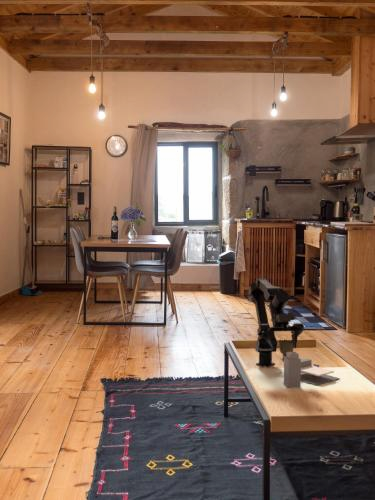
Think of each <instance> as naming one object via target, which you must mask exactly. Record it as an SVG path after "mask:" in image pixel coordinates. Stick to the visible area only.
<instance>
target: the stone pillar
mask: <svg viewBox="0 0 375 500" xmlns="http://www.w3.org/2000/svg"><path fill="white" fill-rule="evenodd" d="M299 356H300V355H299V353H298V352H297V351H293V352H286V357H283V385H284V386H285V387H287V388H291V389H292V388H301V386H302V383H301V382H302V381H301V359H302V358H300V357H299Z"/></svg>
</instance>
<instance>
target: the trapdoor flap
mask: <svg viewBox="0 0 375 500" xmlns="http://www.w3.org/2000/svg"><path fill="white" fill-rule="evenodd" d="M300 359H301V372H304V373H308V374H312V375H315V376H322V375H330V374H333V373H335V371H334V370H331V369H327V368H323V367H320V366H319V367H316V366H313V363H312V362H313V361H312V359H310V358H300Z"/></svg>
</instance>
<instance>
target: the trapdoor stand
mask: <svg viewBox="0 0 375 500" xmlns="http://www.w3.org/2000/svg"><path fill="white" fill-rule="evenodd" d="M312 366H316V367H320V364H317V363H314V364H313V363H312ZM340 379H341V378H339V377H336V376H333V375H330V374H326V375H322V376H315V375H312V374H308V373H304V372H301V382H303V383H305V384H310V385H313V386H320V385H323V384H327V383H331V382H335V381H338V380H340Z"/></svg>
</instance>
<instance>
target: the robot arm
mask: <svg viewBox="0 0 375 500" xmlns="http://www.w3.org/2000/svg"><path fill="white" fill-rule="evenodd" d="M248 296H249V297H250V298H249V299H250V301H251V302H252V304H253V305H254V306H255V313H256V318H257V324H258V328H257V331H256V332H257V333H256V334H257V338H256V342H255V345H254V347H255V348H254V349H255V351H256V352H257V353H258V362H257V363H255V365H256V366H262V367H272V366H274V365H276V363H275V362H273V353H277V348H278V344H279V341H278V340H277V337H276V334H275V332H276V333H277V332H290V333H291V335H290V336H291V340H292V341H293V346H294V348H293V349H296V348H297V343H298V337H299V336H300V335H301V334H302V333H303V332H304V331H305V325H304V323H303V322H296V323H295V322H294V323H293V324H292V326H288V325H289V324H290V323H291V322H292V321H294V320H295V313H294V311H290V312H288V313H286V312H285V310H284V308H286V306H287V304H288V301H289V300H290V294H289V293H288V292H287V291H285V290H284V288H281V287H280V286H275V285H273V284H271V283H270V282H269V280H268V279H267V278H256V280H255V281H254V282H253V283H251V284H250V285H249V288H248ZM265 300H266V301H267V302H268V301H269V302H270V303H269V304H268V310H269V312H270V313H269V314H270V322H272V326H270V324H269V318H268V313H267V308H266V302H265Z"/></svg>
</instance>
